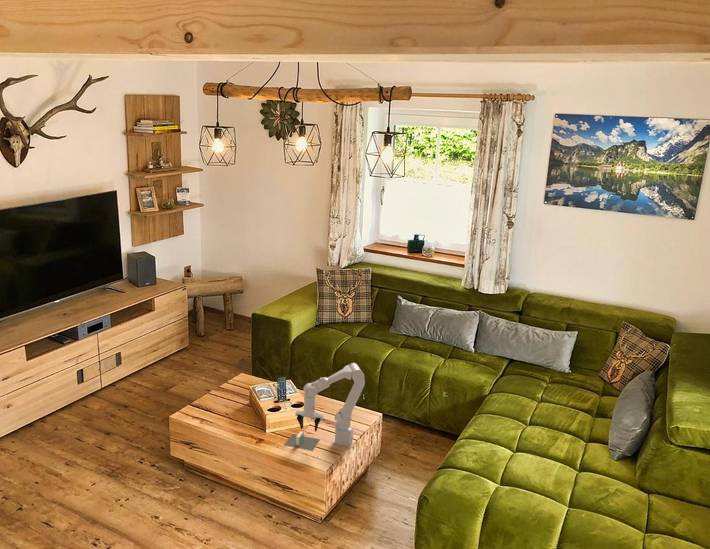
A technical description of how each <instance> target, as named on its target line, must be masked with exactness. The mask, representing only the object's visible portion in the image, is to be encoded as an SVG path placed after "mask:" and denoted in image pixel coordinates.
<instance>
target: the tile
mask: <svg viewBox="0 0 710 549" xmlns="http://www.w3.org/2000/svg"><path fill="white" fill-rule="evenodd" d="M304 434H305V432H304V431H301V430H300V431H299V433H298V434H296V435H297V436H296V445H297V446H300V445H301V443H302V442H303V440H304V436H305V435H304Z"/></svg>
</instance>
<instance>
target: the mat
mask: <svg viewBox="0 0 710 549" xmlns="http://www.w3.org/2000/svg"><path fill="white" fill-rule="evenodd" d="M297 435H298V434H295V433H292V434H291V435H290V436H289V438H288V439H287V440H286V442H284V444H283V445H284V446H288V447H290V448H291V447H293V448H296V449H301V450H306V451H311V452H313V451H314V450H315V449H316V447H317V445H318V443H319V442H320V440H321V439H320V438H316V437H309V436H306V435H304V440H303V442H302V443H301V445H300V446H297V445H296V436H297Z"/></svg>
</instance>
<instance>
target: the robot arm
mask: <svg viewBox="0 0 710 549" xmlns="http://www.w3.org/2000/svg"><path fill="white" fill-rule="evenodd" d="M365 377H366V376H365V374H364V372H363V370H361V367H360V366H359V365H358V364H357V363H356V362H351V363H349V364H347V365H344V367H343V368H342V369H340V370H338V371H337V372H335V373H332V374H331V375H330V376H328V377H325V376H324V377H319V379H317V380H315V381H312V382H311V383H310V382H307V383H305V385H304V386H303V388H302V389H303V391H304V398H303V399H304V400H303V401H304V403H303V410H296V411H295V417H296V421H298V424H299V427H300V430H303V428H304V417H305V418H307V419H314V432H317V430H318V426H319V425H320V422H321V421H323V419H324V414H321V413H318V412H316V397H317V394H319V393H320V392H322V391H324V390H325V389H328V388H330V385H331V384H333V383H336V382H338V381H340V380H343V379H347V380H350V381H351V380H353V382H354V383H353V385H352V387H351V389H350V392H349V393H348V396H347V398H346V400H345V402H344V404H343V406H342V408H340V409H339V410H338V412H336V414H335V415H334V420H335V421H336V422H335V423H336V424H335V426H334V427H335V429H334V430H335V431H334V439H333V441H332V442H331V443H332V444H336V445H339V446H344V447H351V446H350V445H351V444H352V443H353V440H354V428H352V427H351V421H352V413H353V410H354V408H355V406H356V404H357V402H358V400H359V397H361V394H362V391H363V389H364V388H365V385H366V380H365Z"/></svg>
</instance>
